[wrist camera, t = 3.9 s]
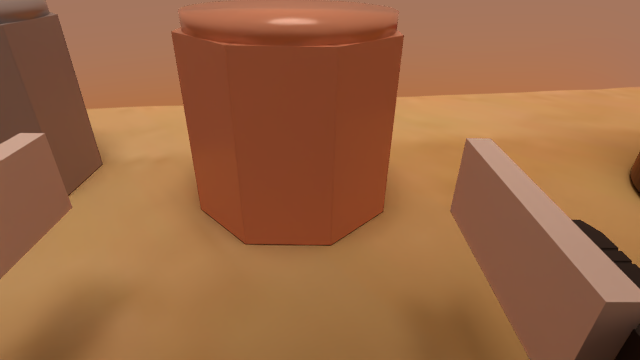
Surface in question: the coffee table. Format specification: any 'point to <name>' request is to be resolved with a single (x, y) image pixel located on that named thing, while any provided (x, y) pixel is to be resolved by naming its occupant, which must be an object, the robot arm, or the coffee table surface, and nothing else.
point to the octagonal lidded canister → (289, 113)
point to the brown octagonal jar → (43, 89)
